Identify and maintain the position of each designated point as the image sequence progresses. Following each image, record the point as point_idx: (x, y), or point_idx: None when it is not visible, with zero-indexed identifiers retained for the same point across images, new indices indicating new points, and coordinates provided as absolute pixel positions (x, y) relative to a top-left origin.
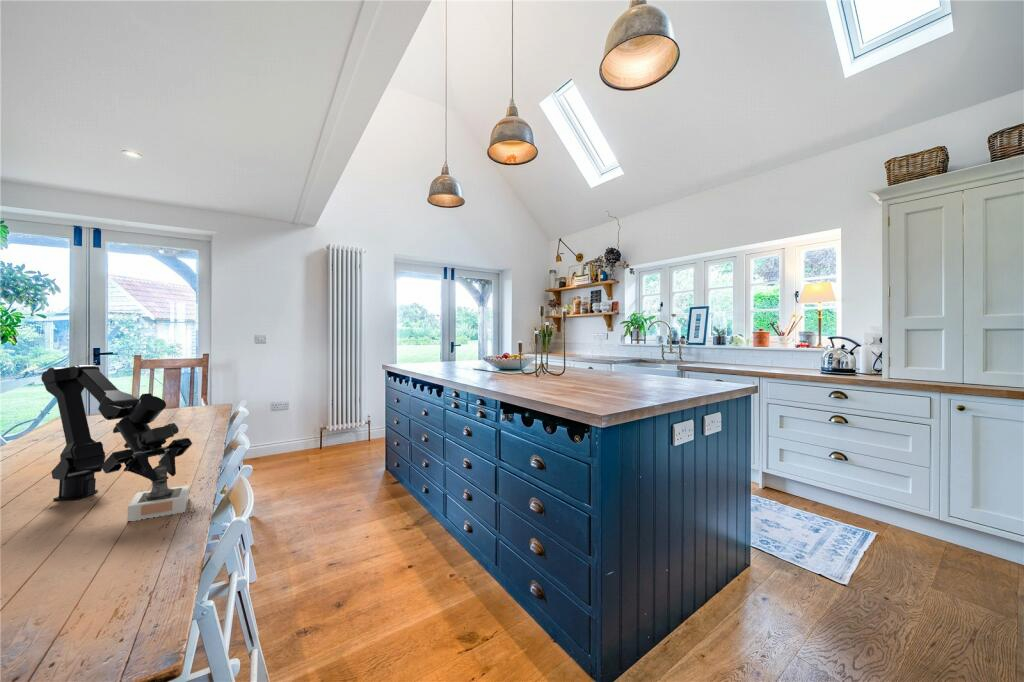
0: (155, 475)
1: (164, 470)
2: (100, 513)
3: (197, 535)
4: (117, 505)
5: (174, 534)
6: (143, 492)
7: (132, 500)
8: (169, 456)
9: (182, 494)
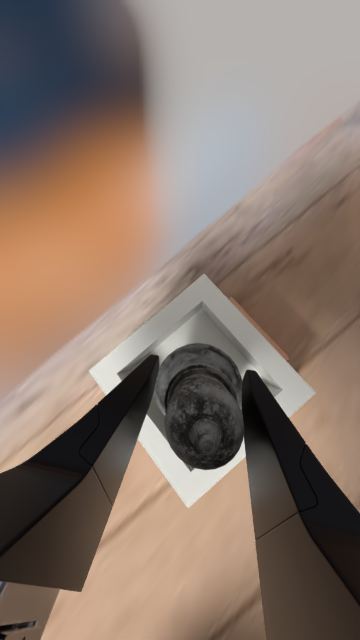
0: (258, 386)
1: (205, 379)
2: (252, 543)
3: (309, 148)
4: (187, 557)
5: (318, 199)
6: (183, 480)
7: None
8: (80, 478)
9: (179, 308)
